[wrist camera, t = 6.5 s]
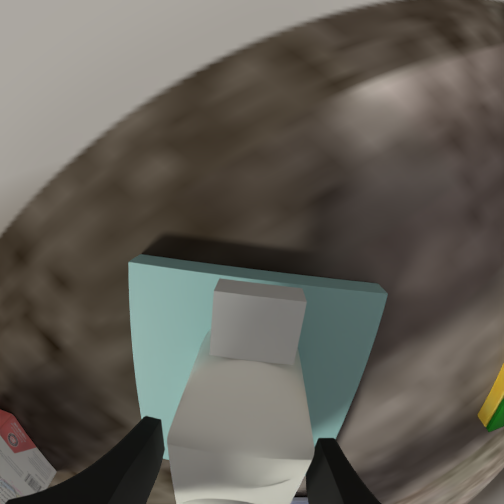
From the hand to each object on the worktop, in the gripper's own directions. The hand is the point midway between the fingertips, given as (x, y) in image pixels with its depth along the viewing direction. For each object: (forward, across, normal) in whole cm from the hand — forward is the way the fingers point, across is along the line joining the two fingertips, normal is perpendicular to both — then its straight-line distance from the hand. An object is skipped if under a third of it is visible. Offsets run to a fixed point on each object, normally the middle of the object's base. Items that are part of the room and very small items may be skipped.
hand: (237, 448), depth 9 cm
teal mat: (+4, 0, 0) cm, 4 cm away
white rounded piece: (+3, 0, -1) cm, 3 cm away
